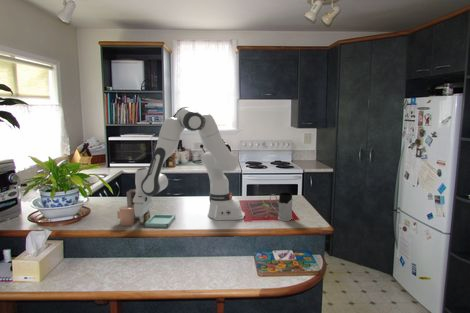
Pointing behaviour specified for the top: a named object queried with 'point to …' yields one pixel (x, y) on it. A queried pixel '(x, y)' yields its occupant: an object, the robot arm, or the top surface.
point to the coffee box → (131, 198)
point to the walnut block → (145, 218)
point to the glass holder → (284, 206)
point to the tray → (160, 220)
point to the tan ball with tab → (126, 215)
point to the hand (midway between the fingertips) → (144, 219)
